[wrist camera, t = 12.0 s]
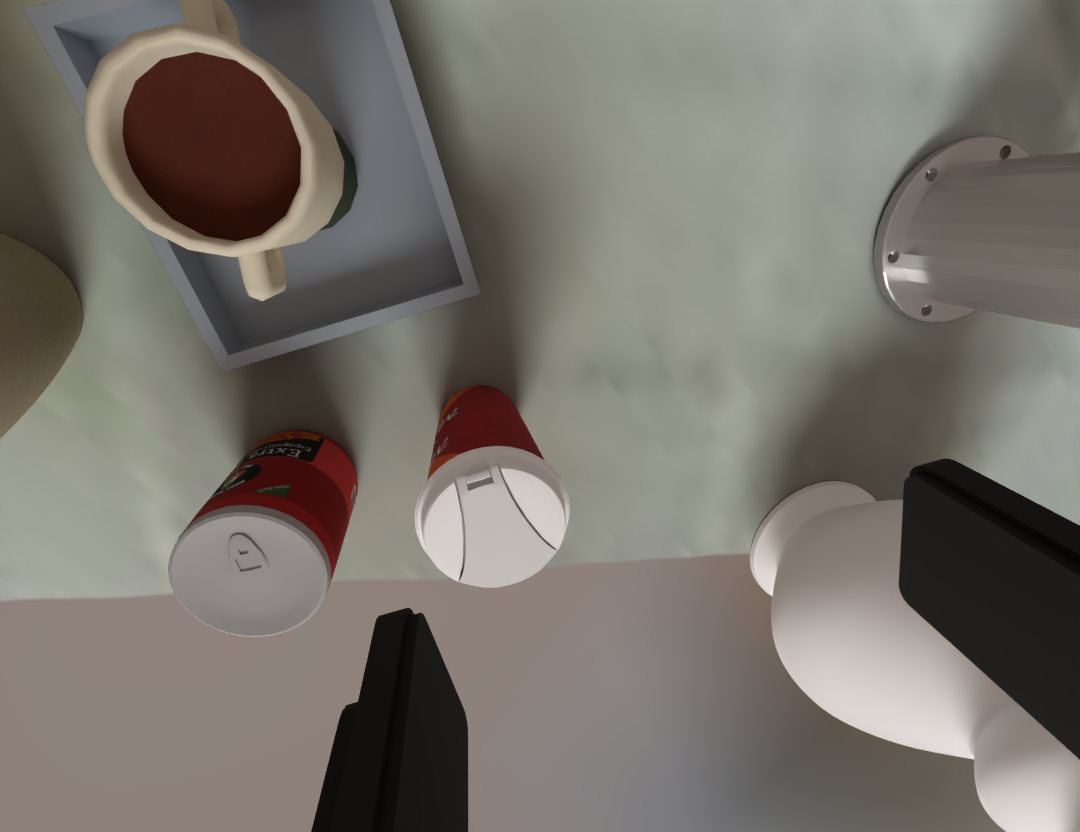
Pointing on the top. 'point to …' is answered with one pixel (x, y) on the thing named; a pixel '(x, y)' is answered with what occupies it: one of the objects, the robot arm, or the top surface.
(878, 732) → the decorative vase
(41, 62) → the top surface
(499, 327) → the top surface
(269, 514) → the canned food
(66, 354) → the plant pot
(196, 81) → the character mug
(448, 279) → the grey bin
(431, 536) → the paper cup
